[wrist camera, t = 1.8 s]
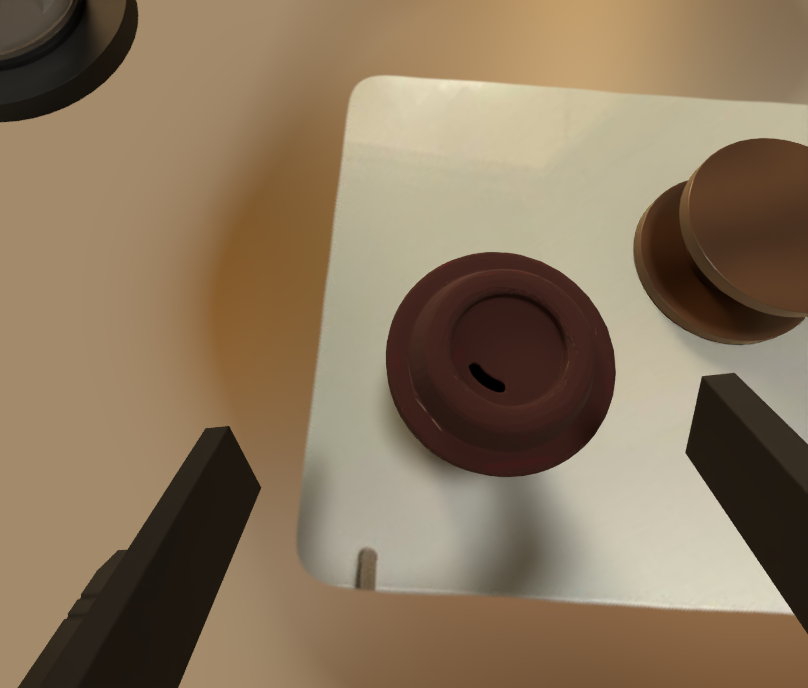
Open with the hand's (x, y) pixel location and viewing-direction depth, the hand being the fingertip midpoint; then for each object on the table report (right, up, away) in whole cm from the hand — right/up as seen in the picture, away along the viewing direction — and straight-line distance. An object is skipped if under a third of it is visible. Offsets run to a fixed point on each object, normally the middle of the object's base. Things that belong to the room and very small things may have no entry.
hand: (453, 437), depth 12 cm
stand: (+24, +9, +22) cm, 34 cm away
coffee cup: (+3, -1, +19) cm, 19 cm away
